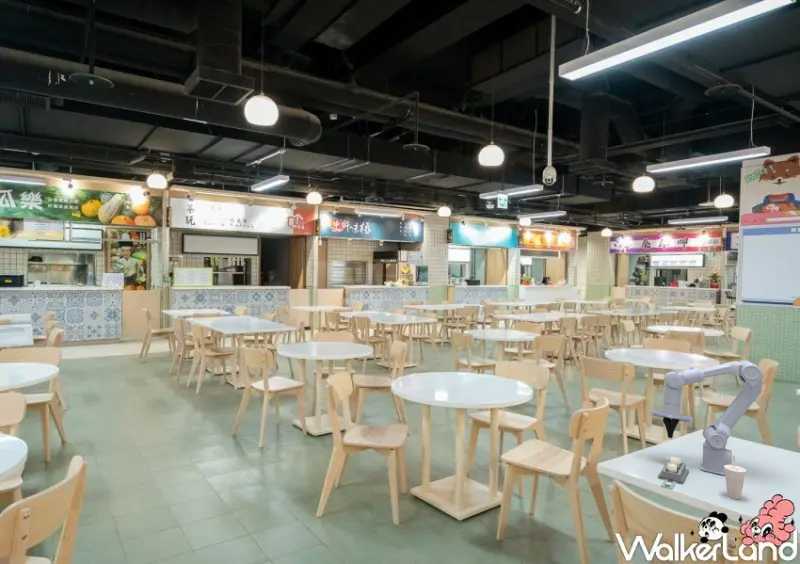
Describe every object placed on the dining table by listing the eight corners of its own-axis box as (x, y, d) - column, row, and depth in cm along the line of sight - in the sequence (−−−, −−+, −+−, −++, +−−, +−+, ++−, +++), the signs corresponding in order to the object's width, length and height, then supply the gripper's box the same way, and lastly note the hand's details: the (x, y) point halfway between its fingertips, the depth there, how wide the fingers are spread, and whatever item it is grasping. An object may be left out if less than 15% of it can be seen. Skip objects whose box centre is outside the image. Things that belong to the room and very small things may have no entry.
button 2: (681, 468, 189) (681, 457, 189) (679, 470, 187) (680, 459, 187) (672, 466, 191) (672, 455, 191) (670, 468, 188) (671, 457, 188)
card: (676, 482, 179) (676, 481, 179) (672, 489, 173) (672, 488, 173) (665, 479, 181) (665, 478, 181) (660, 486, 175) (661, 485, 175)
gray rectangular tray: (688, 472, 188) (689, 464, 188) (683, 484, 177) (683, 475, 177) (665, 466, 193) (665, 459, 193) (658, 478, 182) (658, 470, 182)
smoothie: (718, 492, 171) (719, 452, 171) (735, 492, 172) (737, 451, 171) (732, 501, 165) (733, 459, 164) (750, 500, 165) (751, 458, 165)
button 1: (677, 475, 182) (677, 464, 182) (675, 477, 180) (676, 466, 180) (668, 473, 184) (668, 462, 184) (666, 475, 181) (666, 464, 181)
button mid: (679, 468, 185) (679, 457, 185) (677, 470, 183) (678, 459, 183) (670, 466, 187) (670, 455, 187) (668, 468, 185) (669, 457, 185)
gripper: (649, 401, 197) (647, 435, 198) (691, 408, 189) (689, 444, 189) (653, 398, 203) (651, 431, 203) (694, 405, 194) (692, 439, 195)
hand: (670, 437), depth 197 cm, fingers closed
